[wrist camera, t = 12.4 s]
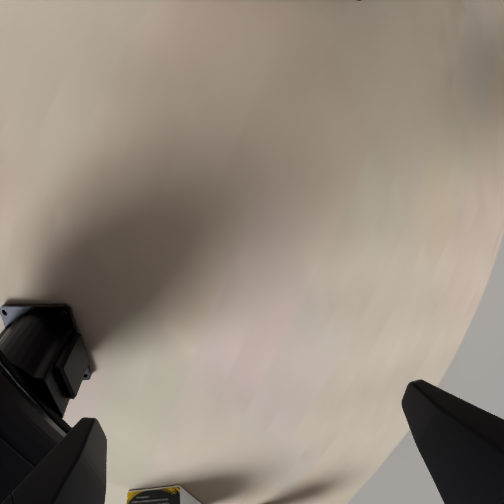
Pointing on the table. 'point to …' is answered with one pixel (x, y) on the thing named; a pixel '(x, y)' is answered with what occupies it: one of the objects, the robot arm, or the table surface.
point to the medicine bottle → (161, 496)
